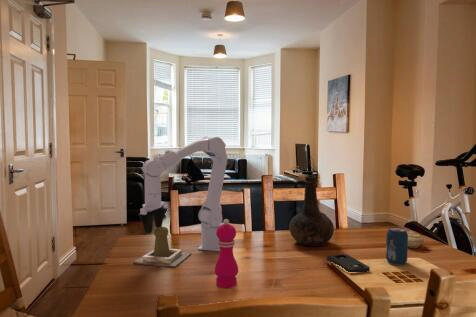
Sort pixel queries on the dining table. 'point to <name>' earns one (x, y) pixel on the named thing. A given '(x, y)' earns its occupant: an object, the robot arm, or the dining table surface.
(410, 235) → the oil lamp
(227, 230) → the pepper mill
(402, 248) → the soda can
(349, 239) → the dining table surface
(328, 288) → the dining table surface
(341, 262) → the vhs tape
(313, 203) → the dark bottle vase
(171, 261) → the collar board
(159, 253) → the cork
